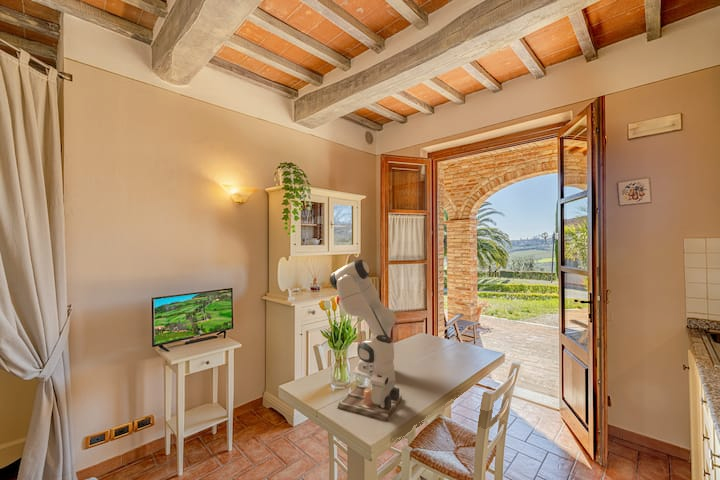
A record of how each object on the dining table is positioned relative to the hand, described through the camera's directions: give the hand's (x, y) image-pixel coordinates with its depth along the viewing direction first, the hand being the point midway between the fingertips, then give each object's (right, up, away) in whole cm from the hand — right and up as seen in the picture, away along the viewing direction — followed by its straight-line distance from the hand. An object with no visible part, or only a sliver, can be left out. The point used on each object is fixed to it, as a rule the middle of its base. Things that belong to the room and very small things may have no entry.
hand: (384, 404), depth 137 cm
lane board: (-6, -4, +7) cm, 10 cm away
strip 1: (-4, -2, +2) cm, 5 cm away
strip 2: (+1, -2, +10) cm, 10 cm away
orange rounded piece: (-7, -1, +3) cm, 8 cm away
